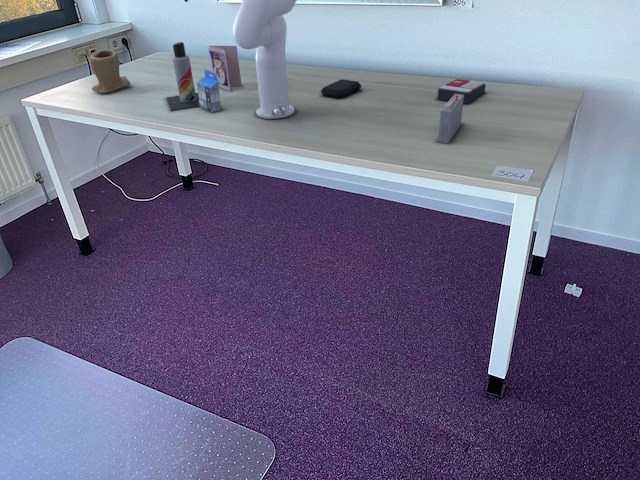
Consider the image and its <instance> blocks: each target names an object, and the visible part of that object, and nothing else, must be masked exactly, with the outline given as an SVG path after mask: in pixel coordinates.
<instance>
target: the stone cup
mask: <svg viewBox="0 0 640 480" xmlns="http://www.w3.org/2000/svg"><path fill="white" fill-rule="evenodd" d="M89 63H90V67H91V70H92V73H93V74H94V75H95V77H96V79H97V81H98V83H97V84H95V85H93V86H92V87H91V90H92V91H93V92H95V93H99V94H106V93H110V92H114V91H117V90H120V89H123V88H125V87H128V86H131V81H130V80H129V79H128V77H127V76H126V75H122V76H120V59H119V57H118V54H117V52H116V51H115V50H112V49H100V50H97V51H95V52H94V53H92V54H91V55H90V56H89Z"/></svg>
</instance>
